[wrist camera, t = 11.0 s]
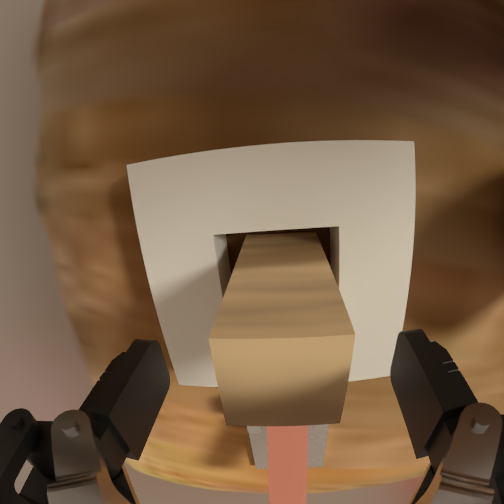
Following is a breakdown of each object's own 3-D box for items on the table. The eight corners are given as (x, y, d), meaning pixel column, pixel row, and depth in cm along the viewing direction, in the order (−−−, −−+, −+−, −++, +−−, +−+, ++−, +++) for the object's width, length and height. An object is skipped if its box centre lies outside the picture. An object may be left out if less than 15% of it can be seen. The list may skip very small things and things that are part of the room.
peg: (246, 234, 17) (208, 338, 8) (315, 231, 17) (355, 334, 7) (251, 296, 19) (226, 425, 9) (315, 294, 18) (339, 423, 9)
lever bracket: (239, 378, 21) (234, 408, 18) (333, 373, 20) (338, 404, 17) (256, 464, 26) (253, 488, 23) (322, 461, 25) (323, 485, 22)
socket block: (150, 161, 16) (126, 164, 13) (392, 141, 15) (414, 141, 12) (190, 357, 21) (179, 384, 18) (381, 348, 19) (392, 375, 16)
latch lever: (267, 400, 21) (265, 407, 19) (307, 399, 20) (308, 405, 19) (270, 511, 18) (269, 521, 17) (304, 510, 18) (305, 520, 16)
